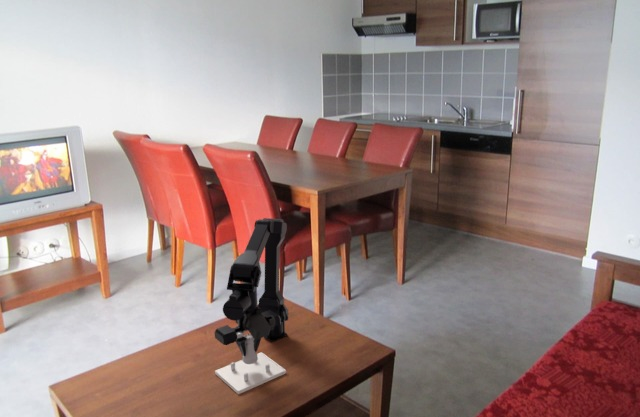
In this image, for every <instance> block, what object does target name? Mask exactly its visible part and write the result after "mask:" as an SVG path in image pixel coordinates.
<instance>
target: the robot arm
mask: <svg viewBox="0 0 640 417" xmlns="http://www.w3.org/2000/svg"><path fill="white" fill-rule="evenodd" d="M287 229H288V224H287V222H285V221H284V219H283V218H267V217H265V218H264V217H263V218H261V219H260V218H259V219H256V220H255V222H254V228H253V231H252V233H251V235H250V238H249V240H248V242H247V244H246V246H245V249H244V251H243V253H241V254H240V255H238V256H236V257H235V258H236V259H235V260H234V262H233V263H232V264H231V266H230V269H229V274H228V281H227V286H226V290H227V291H232V292H231V293H230V294H229V297H228V299H227V300H226V301H225V302H224V304H223V306H222V313H223V315H224V317H225V318H226V319H229V321H230V320H231V321H234V322H235V323H236V324H237V326H235V327H231V326H229V324H226V325H223V326H220V327H217V328H216V329H215V330H214V339H216V340H217V341H218V342H219V343H220V344H222V345H223V346H228V345H231V344H233V343H235V344H236V345H237V347H238V349H239V351H240V353H241V355H242V356H244V357H245V356H246V348H245V341H246V340H247V338H245V337H244V336H245V334H244V333H245V332H249V334H251V335H252V336H253V338H254V341H253V342H254V350H255V352H256V353H257V352H258V349H259V347H260V344H261V340H262V338H265V339H266V340H268V341H270V342H275V341H278V340H280V339H283V338H286V337H288V335H289V334H288V333H286V329H285V326H286V325H285V323H286V321H289V309H288V307H287V306H286V304H285V298H284V296H283V294H282V292H281V291H280V257H281V256H280V254H281V250H280V248H281V245H282V243H283V241H284V240H285V238H286V233H287ZM263 253H264V291H263V293H262V294H261V296H260V297H259V299H258V288H259V285H260V280H261V276H262V269H261V265H260V260H261V257H262V254H263ZM237 282H238V283H237ZM239 282H240V283H239Z"/></svg>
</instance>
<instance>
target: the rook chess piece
mask: <svg viewBox="0 0 640 417" xmlns="http://www.w3.org/2000/svg"><path fill="white" fill-rule="evenodd" d="M244 337H245V338H247V340H246V341H245V348H246V356H245V357H244V356H243V355H242V359H241V360H243V362H244V363H245V364H253V363H255V362H256V361H257V360H258V358H257V354H258V353H257V352H255V350H254V342H253V341H254V338H253V336H252V335H251V333H247V334H244Z"/></svg>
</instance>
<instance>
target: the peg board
mask: <svg viewBox="0 0 640 417" xmlns="http://www.w3.org/2000/svg"><path fill="white" fill-rule="evenodd" d="M257 358H258V360H257V361H256V362H255V363H253V364H245V363H244V362H243V360H242V359H240V360H238V361H236V362H235V361H233V362H230V364H228V365H226V366H223V367H221V368H219V369H216V370H214V374H215V375H216V376H217V377H218V378H219V379H220V380H221V381H223V382H224V383H225V384H226V385H227V386H228V387H230V388H231V389H232V390H233V391H234V392H235V393H236V395H240V394H242V393H245V392H248V391H250V390H251V389H252V390H253V388H256V387H258V386H261V385H263V384H264V383H265V384H266V383H267V382H269V381H271V380H274V379H276V378H279V377H281V376H283V375H286V374H287V370H286V369H285V368H284V367H283V366H281V365H279V364H278V363H277V362H276V361H274V360H273V359H271V358H270V357H269V356H267V355H266V354H265V353H263V352H259V353H257Z"/></svg>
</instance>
